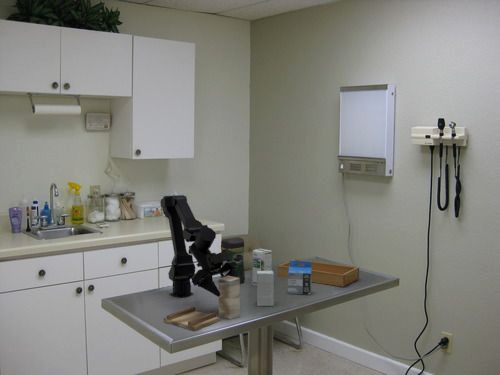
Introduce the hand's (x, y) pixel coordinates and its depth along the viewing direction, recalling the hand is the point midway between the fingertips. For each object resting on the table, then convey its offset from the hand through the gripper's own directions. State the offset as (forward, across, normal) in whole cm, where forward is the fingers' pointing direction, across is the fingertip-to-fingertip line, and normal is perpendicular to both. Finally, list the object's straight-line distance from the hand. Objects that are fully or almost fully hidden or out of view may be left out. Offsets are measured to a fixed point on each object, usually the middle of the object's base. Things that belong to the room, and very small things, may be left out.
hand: (228, 292), depth 196 cm
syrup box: (-4, +38, +16) cm, 41 cm away
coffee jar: (-13, +34, +24) cm, 43 cm away
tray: (+5, +62, +7) cm, 63 cm away
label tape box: (+9, +38, +3) cm, 39 cm away
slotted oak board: (+2, -12, +10) cm, 15 cm away
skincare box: (+7, +18, +4) cm, 20 cm away
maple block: (+6, 0, +6) cm, 8 cm away
